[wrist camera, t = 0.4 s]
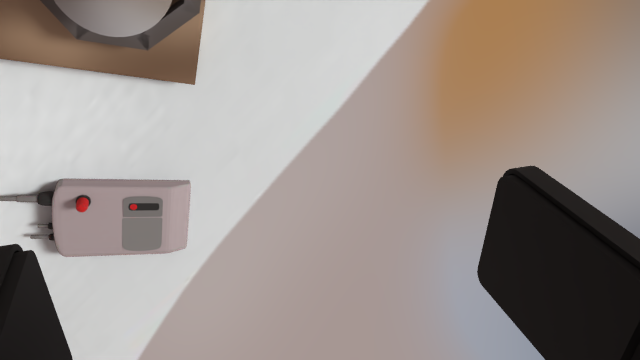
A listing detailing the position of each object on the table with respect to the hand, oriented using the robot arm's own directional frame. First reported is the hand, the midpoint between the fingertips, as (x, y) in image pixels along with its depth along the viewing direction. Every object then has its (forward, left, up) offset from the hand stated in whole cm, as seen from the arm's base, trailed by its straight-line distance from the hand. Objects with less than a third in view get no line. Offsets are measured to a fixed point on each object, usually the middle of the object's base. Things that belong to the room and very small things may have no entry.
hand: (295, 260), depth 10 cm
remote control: (+18, -4, -30) cm, 35 cm away
